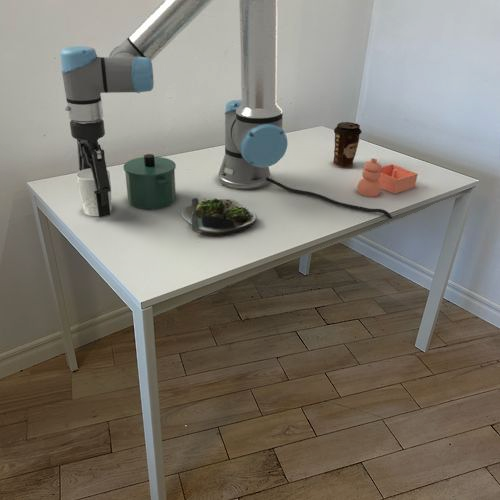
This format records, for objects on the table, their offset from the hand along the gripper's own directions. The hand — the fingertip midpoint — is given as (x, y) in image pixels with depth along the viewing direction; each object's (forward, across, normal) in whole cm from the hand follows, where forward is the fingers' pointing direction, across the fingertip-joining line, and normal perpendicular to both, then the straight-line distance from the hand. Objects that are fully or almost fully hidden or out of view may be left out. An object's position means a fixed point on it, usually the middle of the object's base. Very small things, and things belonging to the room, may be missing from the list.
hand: (98, 207), depth 127 cm
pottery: (+1, +24, +76) cm, 80 cm away
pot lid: (-8, 0, +14) cm, 17 cm away
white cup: (+1, 0, 0) cm, 1 cm away
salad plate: (+1, +20, +24) cm, 31 cm away
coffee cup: (+1, +4, +79) cm, 79 cm away
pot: (+1, 0, +14) cm, 15 cm away
